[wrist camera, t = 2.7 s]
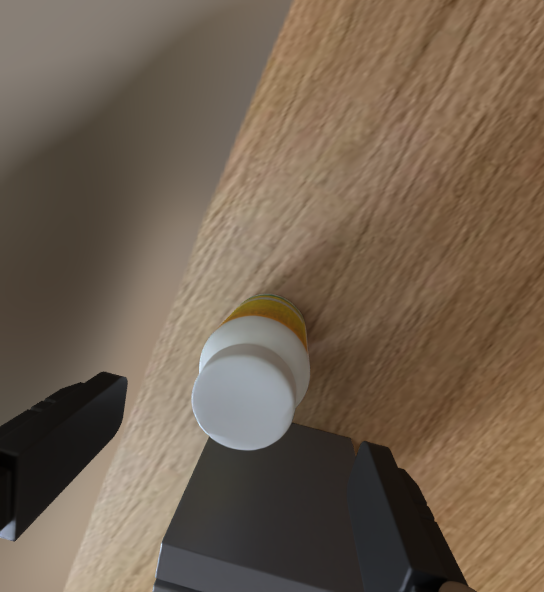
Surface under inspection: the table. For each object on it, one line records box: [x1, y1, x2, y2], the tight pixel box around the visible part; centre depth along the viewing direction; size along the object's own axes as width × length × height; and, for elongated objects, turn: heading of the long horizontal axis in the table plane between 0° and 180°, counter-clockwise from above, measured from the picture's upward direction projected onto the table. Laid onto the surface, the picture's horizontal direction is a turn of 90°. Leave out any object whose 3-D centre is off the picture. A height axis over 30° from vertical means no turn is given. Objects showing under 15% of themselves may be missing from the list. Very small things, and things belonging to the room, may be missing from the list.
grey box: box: [153, 423, 364, 592], centre depth 17 cm, size 10×4×10 cm, turn 77°
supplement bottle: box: [192, 294, 310, 450], centre depth 15 cm, size 5×5×10 cm
